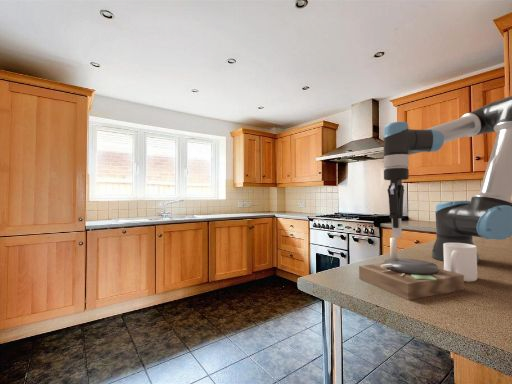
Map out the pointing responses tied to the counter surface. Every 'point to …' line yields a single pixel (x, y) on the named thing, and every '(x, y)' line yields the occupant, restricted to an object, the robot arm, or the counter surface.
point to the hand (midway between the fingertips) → (396, 237)
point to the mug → (461, 260)
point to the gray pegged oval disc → (407, 263)
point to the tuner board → (411, 281)
